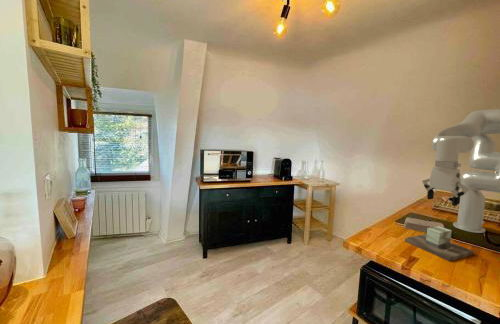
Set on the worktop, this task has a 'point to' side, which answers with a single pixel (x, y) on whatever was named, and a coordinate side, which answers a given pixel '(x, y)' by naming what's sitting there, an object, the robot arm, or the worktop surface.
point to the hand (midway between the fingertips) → (442, 202)
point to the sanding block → (438, 237)
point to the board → (444, 252)
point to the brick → (420, 224)
